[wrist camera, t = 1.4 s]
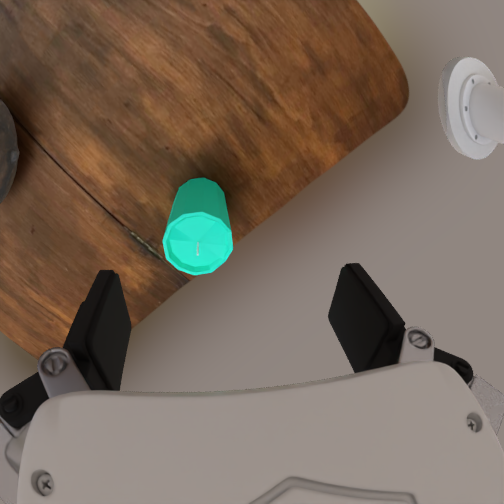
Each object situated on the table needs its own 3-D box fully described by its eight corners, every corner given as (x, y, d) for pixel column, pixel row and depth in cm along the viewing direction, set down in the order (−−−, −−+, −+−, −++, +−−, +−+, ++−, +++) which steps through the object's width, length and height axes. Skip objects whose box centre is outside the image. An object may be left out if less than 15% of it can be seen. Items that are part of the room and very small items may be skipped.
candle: (186, 232, 34) (180, 294, 24) (166, 189, 31) (146, 236, 20) (232, 214, 34) (245, 271, 23) (214, 169, 30) (219, 208, 20)
